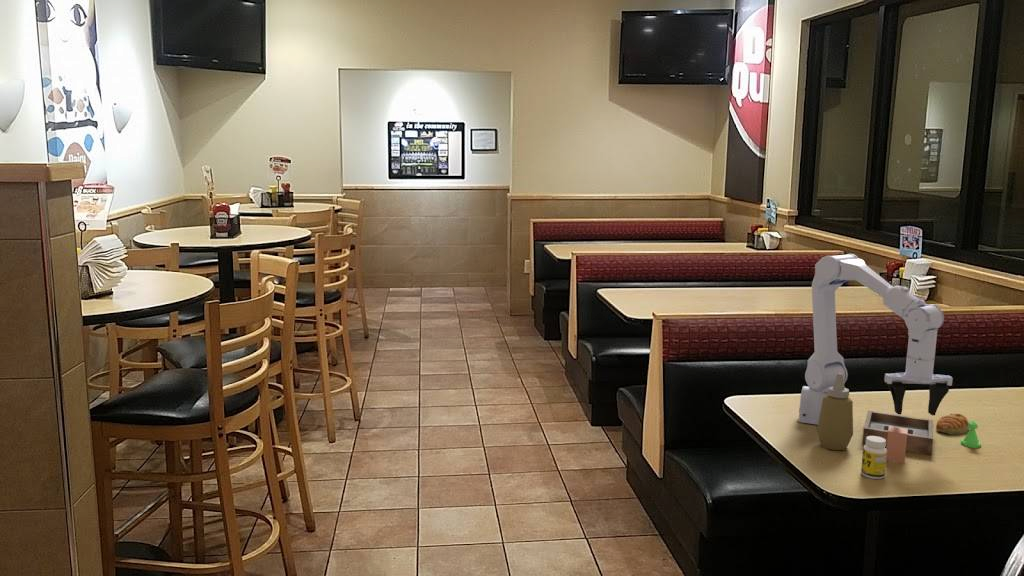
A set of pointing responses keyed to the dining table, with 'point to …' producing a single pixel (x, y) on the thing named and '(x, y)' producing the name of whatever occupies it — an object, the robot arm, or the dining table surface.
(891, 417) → the socket box
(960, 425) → the pastry
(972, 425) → the game piece
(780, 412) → the dining table surface
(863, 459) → the supplement bottle
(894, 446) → the peg
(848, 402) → the squeeze bottle
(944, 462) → the dining table surface
